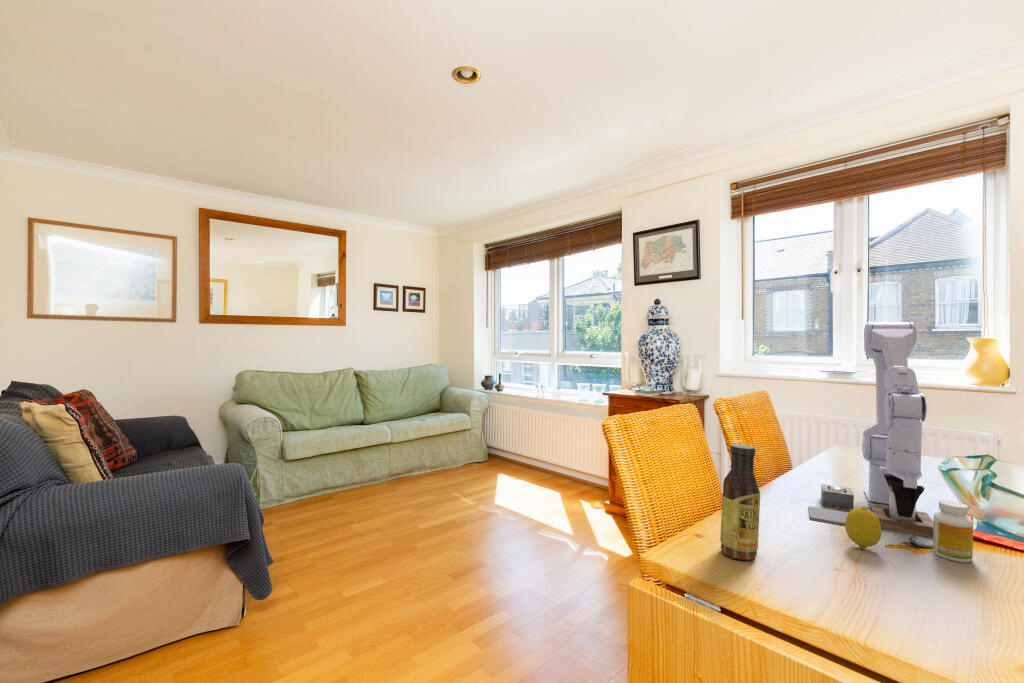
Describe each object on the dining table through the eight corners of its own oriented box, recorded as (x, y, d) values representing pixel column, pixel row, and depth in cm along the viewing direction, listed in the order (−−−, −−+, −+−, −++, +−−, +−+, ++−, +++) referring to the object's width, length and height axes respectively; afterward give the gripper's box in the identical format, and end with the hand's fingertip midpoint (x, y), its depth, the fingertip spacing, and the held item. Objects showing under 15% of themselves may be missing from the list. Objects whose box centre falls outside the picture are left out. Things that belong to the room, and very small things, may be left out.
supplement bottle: (980, 564, 85) (982, 510, 85) (945, 561, 86) (946, 507, 86) (958, 551, 90) (960, 499, 90) (925, 548, 92) (927, 497, 91)
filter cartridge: (887, 519, 106) (888, 483, 106) (912, 523, 104) (913, 486, 104) (890, 526, 102) (891, 488, 102) (917, 530, 100) (918, 492, 100)
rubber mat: (808, 508, 112) (808, 506, 112) (850, 515, 108) (850, 512, 108) (810, 519, 105) (810, 517, 105) (854, 527, 101) (854, 524, 101)
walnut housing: (869, 512, 110) (869, 504, 110) (926, 521, 105) (926, 512, 105) (876, 527, 101) (876, 518, 101) (938, 538, 96) (939, 528, 96)
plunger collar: (821, 498, 119) (821, 484, 119) (850, 502, 116) (850, 488, 116) (822, 505, 114) (823, 490, 114) (853, 510, 111) (853, 495, 111)
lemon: (874, 545, 93) (875, 503, 93) (885, 557, 87) (886, 513, 87) (840, 540, 94) (841, 500, 94) (850, 552, 89) (851, 509, 89)
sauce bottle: (742, 565, 84) (744, 451, 83) (712, 550, 89) (714, 444, 89) (766, 557, 87) (769, 448, 86) (736, 544, 92) (738, 441, 92)
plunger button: (828, 497, 117) (829, 485, 117) (843, 499, 116) (844, 487, 116) (829, 501, 115) (830, 488, 115) (845, 503, 113) (845, 490, 113)
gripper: (875, 440, 111) (873, 499, 111) (886, 454, 98) (884, 519, 99) (914, 444, 108) (912, 505, 108) (931, 458, 95) (929, 527, 95)
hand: (902, 512), depth 103 cm, fingers closed on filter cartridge, 4 cm apart
